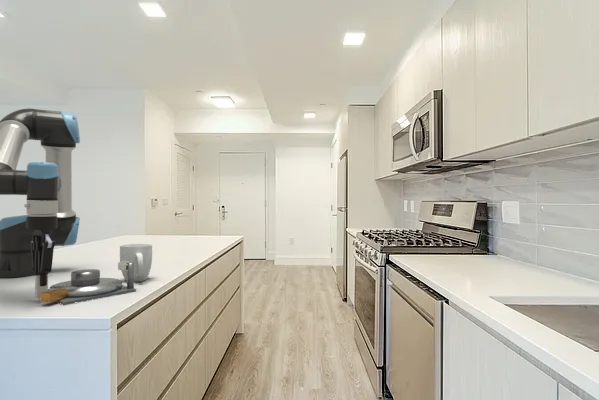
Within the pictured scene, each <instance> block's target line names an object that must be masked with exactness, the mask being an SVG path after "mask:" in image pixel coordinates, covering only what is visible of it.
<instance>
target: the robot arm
mask: <svg viewBox="0 0 599 400" xmlns="http://www.w3.org/2000/svg"><path fill="white" fill-rule="evenodd" d="M80 138H81V137H80V129H79V122H78V119H77V116H76V115H75V114H74V113H72V112H67V111H60V110H46V109H39V108H38V109H36V108H30V107H29V108H28V107H27V108H21V109H17V110H15V111H12V112H10V113H8V114H6V115H5V116H4V117H3V118H2V119H1V120H0V196H1V195H2V196H4V195H5V196H10V195H11V196H12V195H13V196H17V195H18V196H26V203H25V204H24V205H23V207H24V208H26V214H21V215H15V216H13V215H12V216H7V217H3V218H1V219H0V279H5V278H6V279H8V278H9V279H10V278H21V277H22V278H23V277H29V276H34V277H35V279H34V280H35V281H34V285H35V287H34V289H35V290H34V292H35V293H34V297H35V298H36V299H40V294H41V293H43V292H46V291H48V289H49V274H51V273H52V268H53V267H52V266H53V257H54V249H55V247H64V246H73V245H75V244H76V242H77V240H78V232H79V226H80V221H81V218H80V217H79V216H77V213H76V212H75V210H73V206H72V205H73V204H72V203H73V202H72V199H73V197H72V196H73V195H72V194H73V193H72V192H73V191H72V187H73V186H72V185H73V183H72V174H73V173H72V152H73V151H74V150H75V149H76V148H77V144H80V143H81V139H80ZM28 140H29V141H30V140H31V141H39V142H40V146H41V147H42V148H43V149H44V151H45V161H29V162H28V163H27V165H26V170H20V169H19V170H18V169H17V166H18V163H19V160H20V158H21V153H22V151H23V147H24V145H25V143H27V142H28Z"/></svg>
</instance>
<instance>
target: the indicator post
mask: <svg viewBox="0 0 599 400" xmlns="http://www.w3.org/2000/svg"><path fill="white" fill-rule="evenodd" d="M117 270H118V271H121V270H127V281H126V284H127V285H126V286H127V289H132V288H134V289H135V282H134V262H130V261H121V262H120V261H119V262H117Z"/></svg>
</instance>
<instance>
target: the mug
mask: <svg viewBox="0 0 599 400" xmlns="http://www.w3.org/2000/svg"><path fill="white" fill-rule="evenodd" d="M121 261H130V262H134V283H135V282H136V283H138V282H143V281H145V280H147V278H148V277H149V275H150V272H151V268H152V264H153V263H152V262H153V244H152V243H142V242H135V243H134V242H133V243H125V244H120V245H119V262H121ZM120 271H121V273H122V274H121V275H122V276H123V278H124V280H125V281H126V282H127V270H120Z"/></svg>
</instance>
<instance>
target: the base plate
mask: <svg viewBox="0 0 599 400" xmlns="http://www.w3.org/2000/svg"><path fill="white" fill-rule="evenodd" d="M48 291H50V288H48ZM135 292H137V288H135V287H134V288H132V289H127V285H124V284H122V287H121V288H120V289H118V290H115V291H112V292H108V293H103V294H98V295H91V296H80V297H65V298H62V299H59V300H56V302H55V303H57V302H58V303H57V304H60V303H61V304H60V305H62V304H63V305H62V306H66V305H65V304H67V305H71V304H70V303H72V304H76V303H75V302H78V303H82V302H81V301H83V302H87V300H88V301H92V299H93V300H97V299H98V298H99V299H103V297H104V298H110V297H114V296H119V295H124V294H129V293H135Z"/></svg>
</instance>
